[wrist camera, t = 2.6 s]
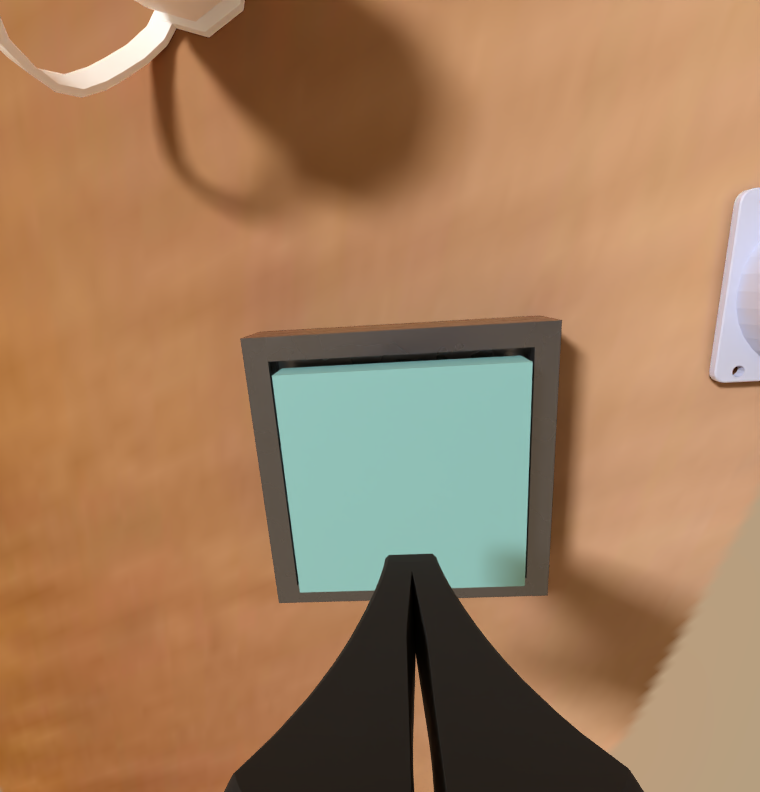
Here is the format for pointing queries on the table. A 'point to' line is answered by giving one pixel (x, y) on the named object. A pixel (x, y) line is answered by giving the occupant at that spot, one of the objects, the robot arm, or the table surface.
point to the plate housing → (406, 344)
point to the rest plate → (407, 468)
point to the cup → (132, 44)
